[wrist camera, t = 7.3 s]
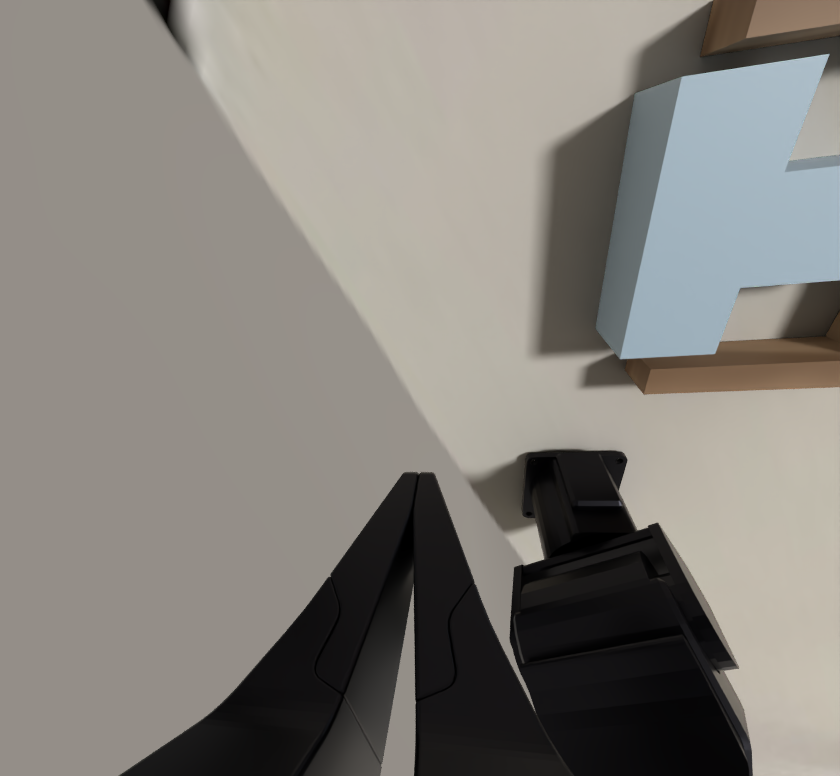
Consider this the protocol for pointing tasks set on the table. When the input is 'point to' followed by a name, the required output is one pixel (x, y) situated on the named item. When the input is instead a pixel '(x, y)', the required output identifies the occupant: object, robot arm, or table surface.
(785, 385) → the pocket
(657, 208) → the t block
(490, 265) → the table surface
